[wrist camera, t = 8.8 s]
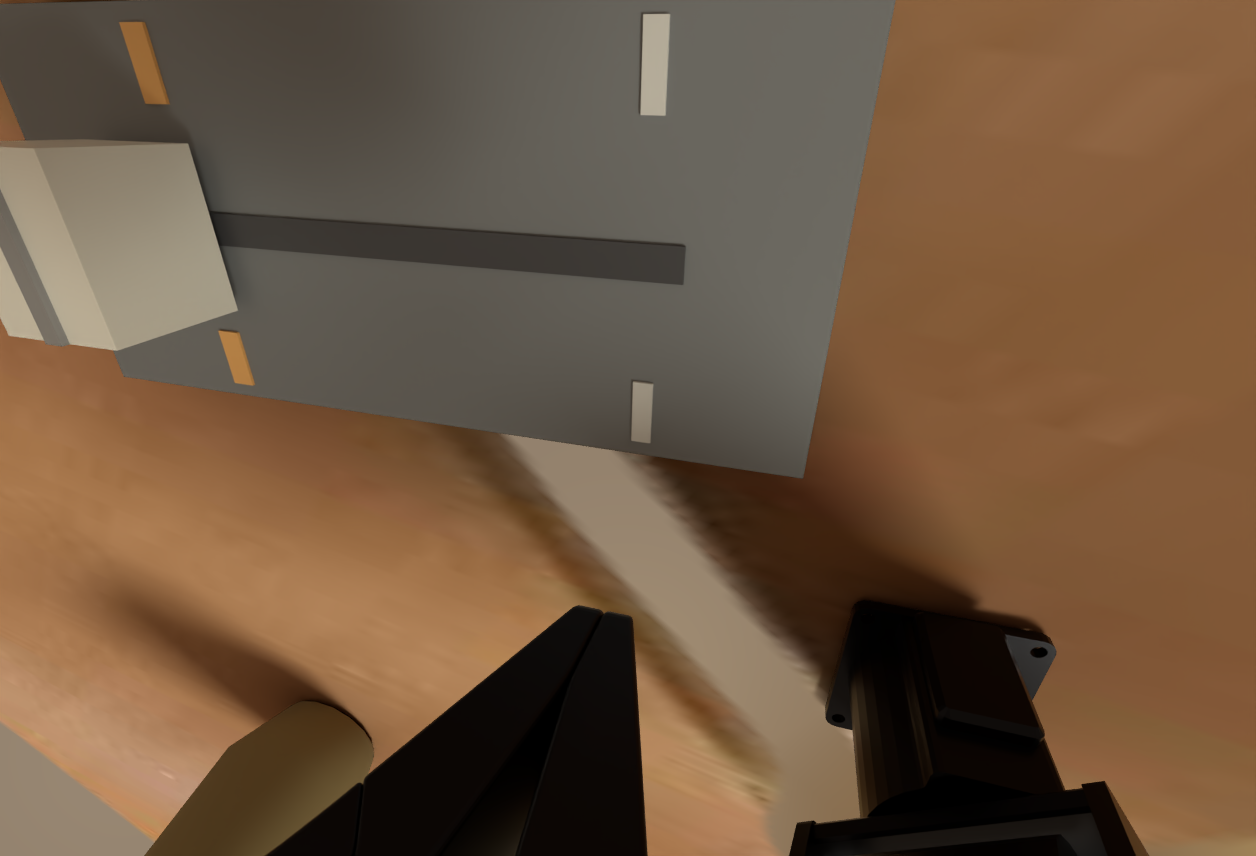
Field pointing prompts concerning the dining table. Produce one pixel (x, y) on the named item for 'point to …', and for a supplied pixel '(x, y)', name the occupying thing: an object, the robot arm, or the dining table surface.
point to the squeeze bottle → (270, 784)
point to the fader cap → (105, 243)
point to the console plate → (497, 201)
